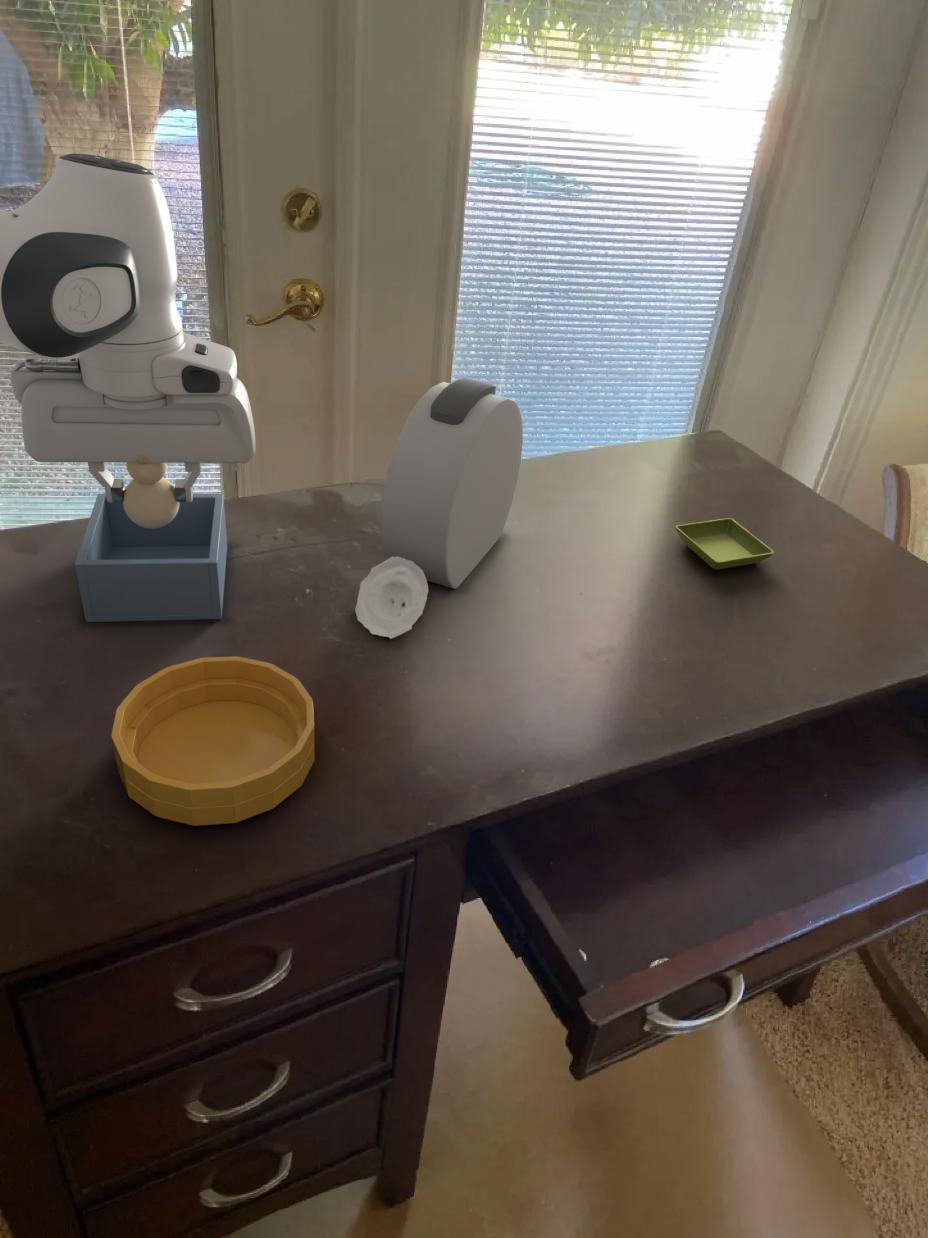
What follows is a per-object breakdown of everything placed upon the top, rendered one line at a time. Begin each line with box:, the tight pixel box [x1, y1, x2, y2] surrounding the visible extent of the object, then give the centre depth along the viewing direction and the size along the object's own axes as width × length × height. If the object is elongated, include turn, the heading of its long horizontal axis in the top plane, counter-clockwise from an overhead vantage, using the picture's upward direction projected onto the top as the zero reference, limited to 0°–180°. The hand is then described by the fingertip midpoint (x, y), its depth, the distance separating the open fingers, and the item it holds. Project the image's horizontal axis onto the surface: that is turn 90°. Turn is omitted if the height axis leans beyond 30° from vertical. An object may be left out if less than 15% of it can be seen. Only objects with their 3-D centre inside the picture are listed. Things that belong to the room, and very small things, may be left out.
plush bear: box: [123, 455, 179, 529], centre depth 85 cm, size 5×5×9 cm
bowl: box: [110, 656, 316, 827], centre depth 71 cm, size 15×15×4 cm
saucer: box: [674, 517, 775, 571], centre depth 106 cm, size 9×9×2 cm
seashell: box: [354, 556, 429, 640], centre depth 89 cm, size 8×5×8 cm
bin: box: [74, 493, 228, 623], centre depth 90 cm, size 13×14×7 cm
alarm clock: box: [379, 377, 524, 590], centre depth 96 cm, size 21×8×20 cm, turn 156°
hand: (151, 499), depth 86 cm, fingers closed on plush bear, 5 cm apart
